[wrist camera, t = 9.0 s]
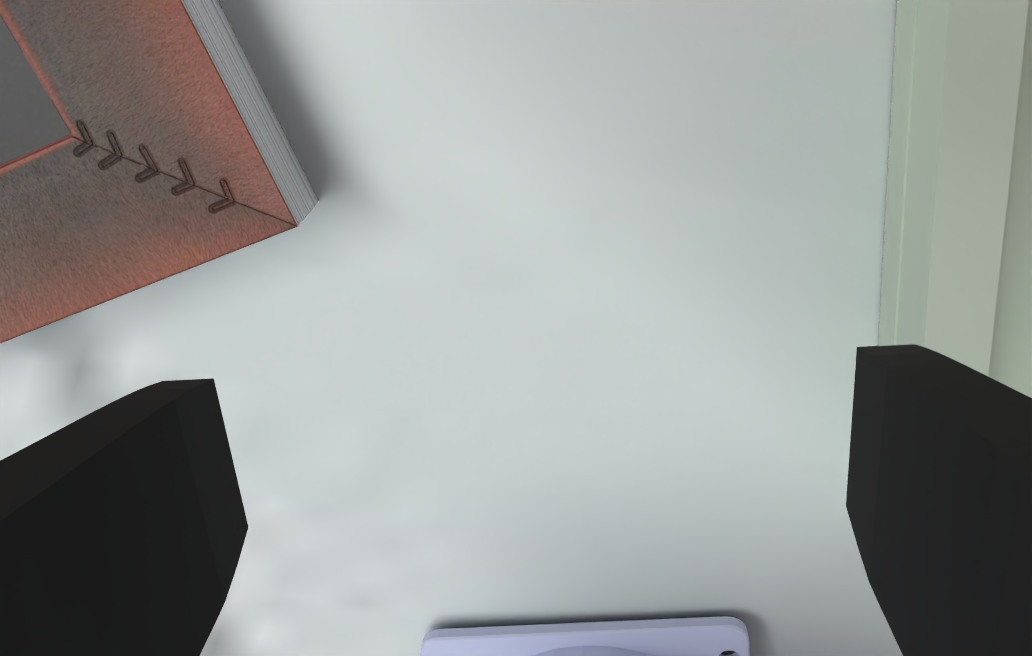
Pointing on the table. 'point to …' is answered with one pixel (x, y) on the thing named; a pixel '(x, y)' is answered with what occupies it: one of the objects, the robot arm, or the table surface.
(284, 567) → the table surface
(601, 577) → the table surface
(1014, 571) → the robot arm
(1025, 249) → the green slotted rack
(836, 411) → the table surface
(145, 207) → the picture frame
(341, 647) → the table surface
